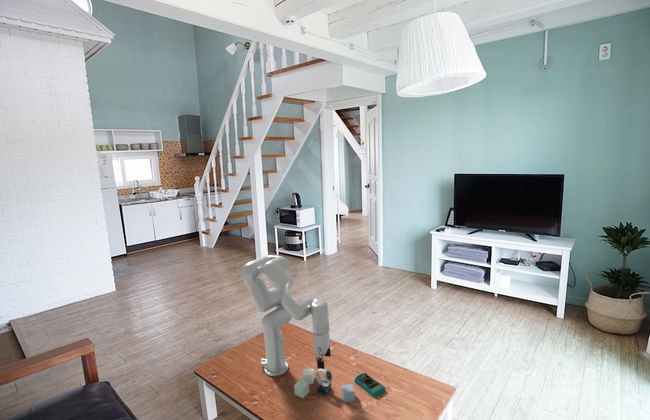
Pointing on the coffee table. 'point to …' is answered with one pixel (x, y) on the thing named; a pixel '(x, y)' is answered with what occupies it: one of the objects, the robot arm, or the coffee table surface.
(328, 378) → the watch
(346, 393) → the slate cube
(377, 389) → the digital multimeter
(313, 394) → the coffee table surface
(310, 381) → the cream cube
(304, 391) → the sage cube
